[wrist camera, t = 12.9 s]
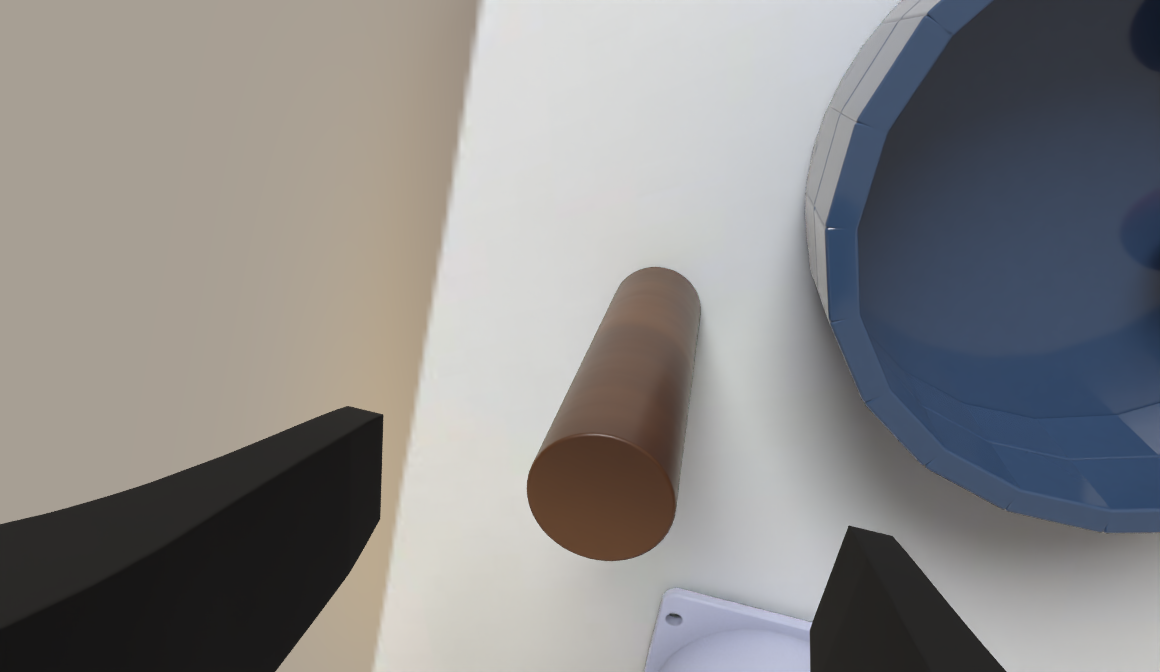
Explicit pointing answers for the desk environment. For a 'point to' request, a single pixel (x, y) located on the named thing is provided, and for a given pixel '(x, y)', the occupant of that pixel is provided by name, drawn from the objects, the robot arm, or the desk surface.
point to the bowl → (1003, 248)
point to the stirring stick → (622, 425)
